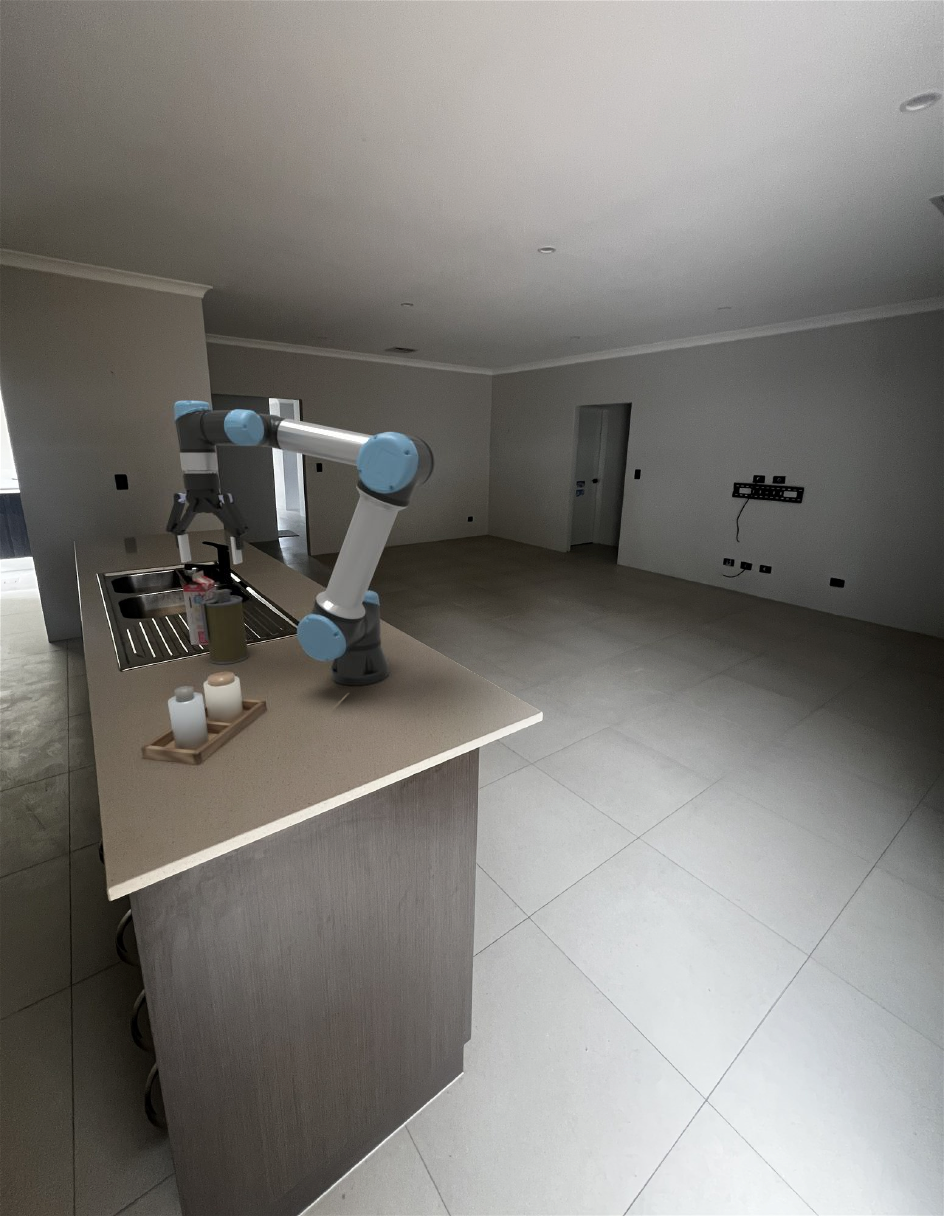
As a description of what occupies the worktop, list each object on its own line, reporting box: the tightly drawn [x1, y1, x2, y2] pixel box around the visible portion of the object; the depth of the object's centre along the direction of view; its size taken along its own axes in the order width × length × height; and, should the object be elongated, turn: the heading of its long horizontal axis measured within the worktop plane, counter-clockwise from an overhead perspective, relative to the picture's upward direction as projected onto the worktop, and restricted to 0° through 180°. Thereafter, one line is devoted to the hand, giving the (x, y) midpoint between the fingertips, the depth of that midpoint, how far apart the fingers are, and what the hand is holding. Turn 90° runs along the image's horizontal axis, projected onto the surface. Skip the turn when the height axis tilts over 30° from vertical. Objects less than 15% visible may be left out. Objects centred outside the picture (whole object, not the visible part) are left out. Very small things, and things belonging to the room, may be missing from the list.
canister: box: [200, 588, 250, 665], centre depth 153 cm, size 11×10×20 cm
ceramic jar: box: [203, 671, 244, 723], centre depth 116 cm, size 7×7×10 cm
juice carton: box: [182, 570, 216, 646], centre depth 167 cm, size 7×7×22 cm
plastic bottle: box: [167, 685, 209, 751], centre depth 106 cm, size 6×6×12 cm
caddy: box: [140, 698, 268, 766], centre depth 112 cm, size 12×23×3 cm, turn 169°
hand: (212, 562), depth 131 cm, fingers open, 13 cm apart
